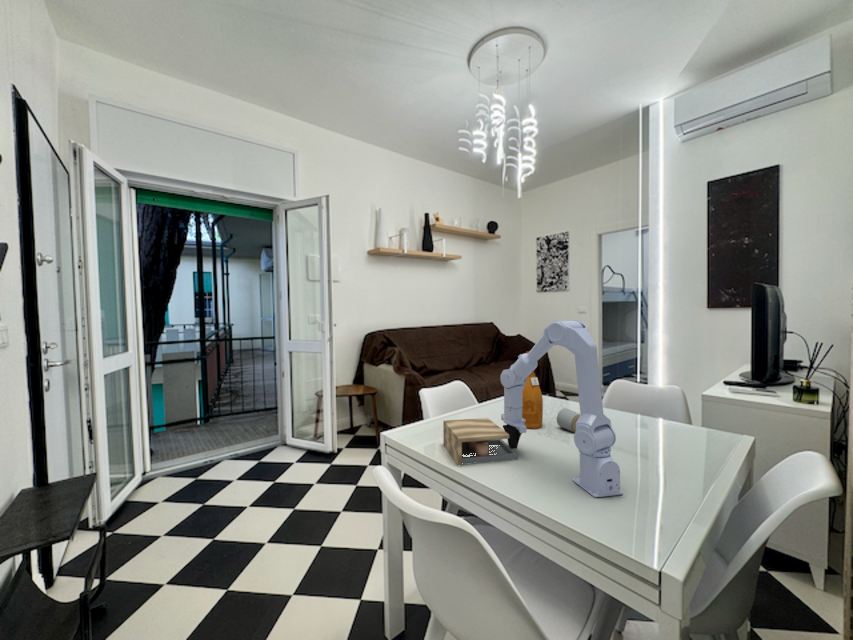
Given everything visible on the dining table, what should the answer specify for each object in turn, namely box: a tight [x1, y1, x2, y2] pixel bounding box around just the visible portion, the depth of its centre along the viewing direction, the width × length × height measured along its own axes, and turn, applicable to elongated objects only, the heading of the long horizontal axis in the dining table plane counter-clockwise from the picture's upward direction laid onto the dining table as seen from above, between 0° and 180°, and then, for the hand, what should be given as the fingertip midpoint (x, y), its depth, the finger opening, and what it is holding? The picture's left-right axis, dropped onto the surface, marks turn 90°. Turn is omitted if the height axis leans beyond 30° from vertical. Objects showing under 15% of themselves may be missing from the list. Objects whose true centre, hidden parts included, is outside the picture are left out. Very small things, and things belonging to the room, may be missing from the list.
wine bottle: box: [522, 350, 544, 430], centre depth 143 cm, size 10×10×30 cm
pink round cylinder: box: [475, 441, 489, 456], centre depth 110 cm, size 4×4×4 cm
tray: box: [462, 439, 519, 464], centre depth 114 cm, size 14×18×2 cm
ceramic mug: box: [556, 407, 580, 433], centre depth 138 cm, size 11×8×8 cm
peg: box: [468, 441, 478, 451], centre depth 118 cm, size 4×4×4 cm
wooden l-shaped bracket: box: [442, 417, 509, 466], centre depth 115 cm, size 18×16×8 cm
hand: (513, 448), depth 116 cm, fingers closed
